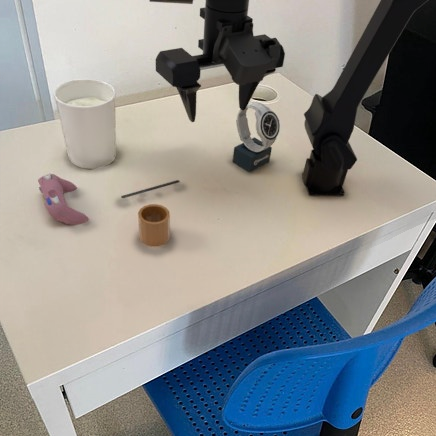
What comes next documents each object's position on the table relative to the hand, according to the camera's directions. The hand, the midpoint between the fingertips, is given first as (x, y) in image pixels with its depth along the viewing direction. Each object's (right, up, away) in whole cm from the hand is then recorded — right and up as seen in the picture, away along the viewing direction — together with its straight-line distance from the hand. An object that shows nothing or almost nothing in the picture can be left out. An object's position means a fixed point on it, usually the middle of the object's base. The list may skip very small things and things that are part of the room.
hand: (217, 114), depth 77 cm
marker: (-16, -10, +4) cm, 19 cm away
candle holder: (-23, -3, +13) cm, 26 cm away
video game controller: (-24, -15, +1) cm, 28 cm away
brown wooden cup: (-10, -20, -2) cm, 22 cm away
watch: (+6, -4, +15) cm, 17 cm away
